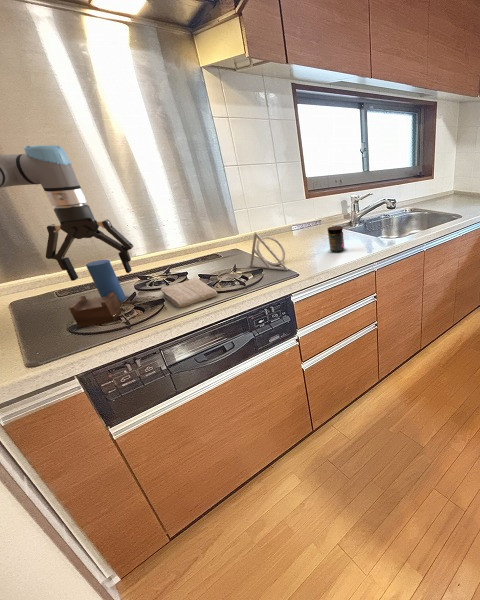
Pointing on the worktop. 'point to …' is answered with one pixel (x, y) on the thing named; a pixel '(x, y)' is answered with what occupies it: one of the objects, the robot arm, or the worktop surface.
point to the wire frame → (269, 251)
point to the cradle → (95, 310)
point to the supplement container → (336, 239)
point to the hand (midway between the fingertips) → (102, 275)
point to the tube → (105, 278)
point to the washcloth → (188, 292)
